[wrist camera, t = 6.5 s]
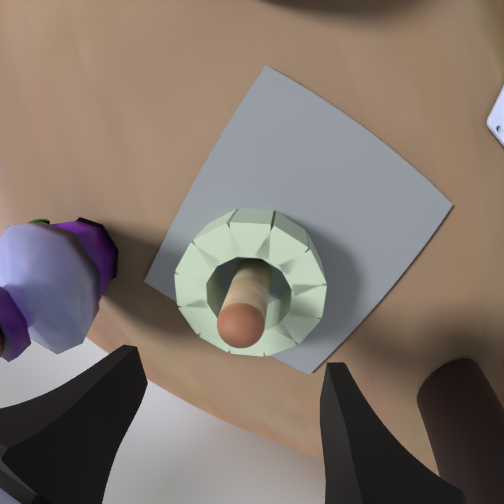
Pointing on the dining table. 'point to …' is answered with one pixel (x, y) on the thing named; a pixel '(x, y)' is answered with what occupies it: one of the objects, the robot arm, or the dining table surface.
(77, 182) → the dining table surface
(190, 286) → the bead
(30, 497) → the robot arm
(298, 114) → the mat
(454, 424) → the vinegar
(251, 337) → the wooden dowel
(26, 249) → the potion bottle
